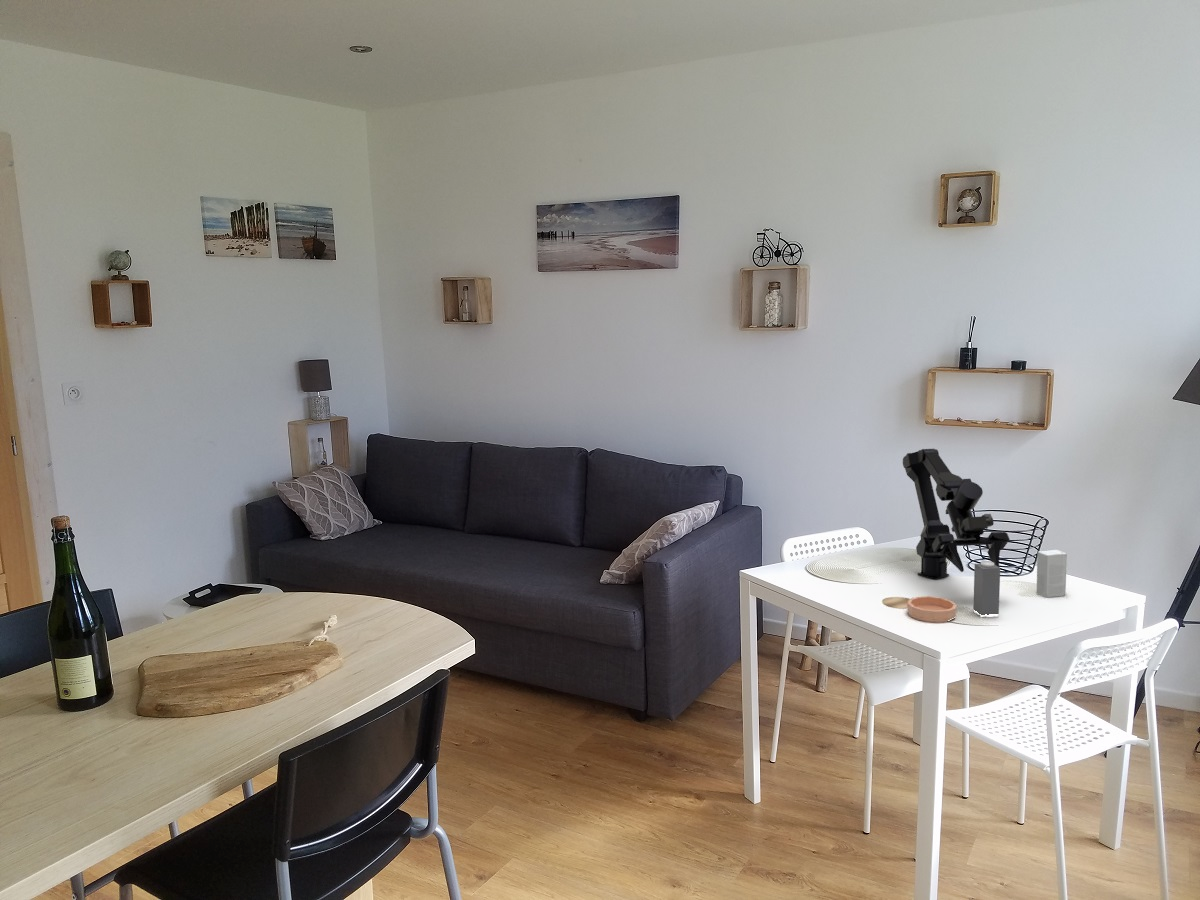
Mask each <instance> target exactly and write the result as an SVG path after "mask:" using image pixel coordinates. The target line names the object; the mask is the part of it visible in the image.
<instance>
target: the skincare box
mask: <svg viewBox="0 0 1200 900" xmlns="http://www.w3.org/2000/svg"><path fill="white" fill-rule="evenodd" d="M1067 555H1068V553H1066V552H1064V551H1061V550H1059V549H1052V550H1050V549H1049V550H1041V551H1040V550H1039V551H1037V556H1036V557H1037V561H1036V562H1037V563H1036V564H1037V566H1036V594H1037V593H1038V594H1037V595H1039V594H1040V596H1041V595H1042V596H1041V597H1043V598H1045V599H1046V598H1047V597H1048V598H1056V597H1061V596H1062V597H1064V596H1066V593H1067V591H1066V590H1067V586H1066V585H1067V566H1068V565H1067V562H1068V561H1067V559H1068V556H1067Z"/></svg>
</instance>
